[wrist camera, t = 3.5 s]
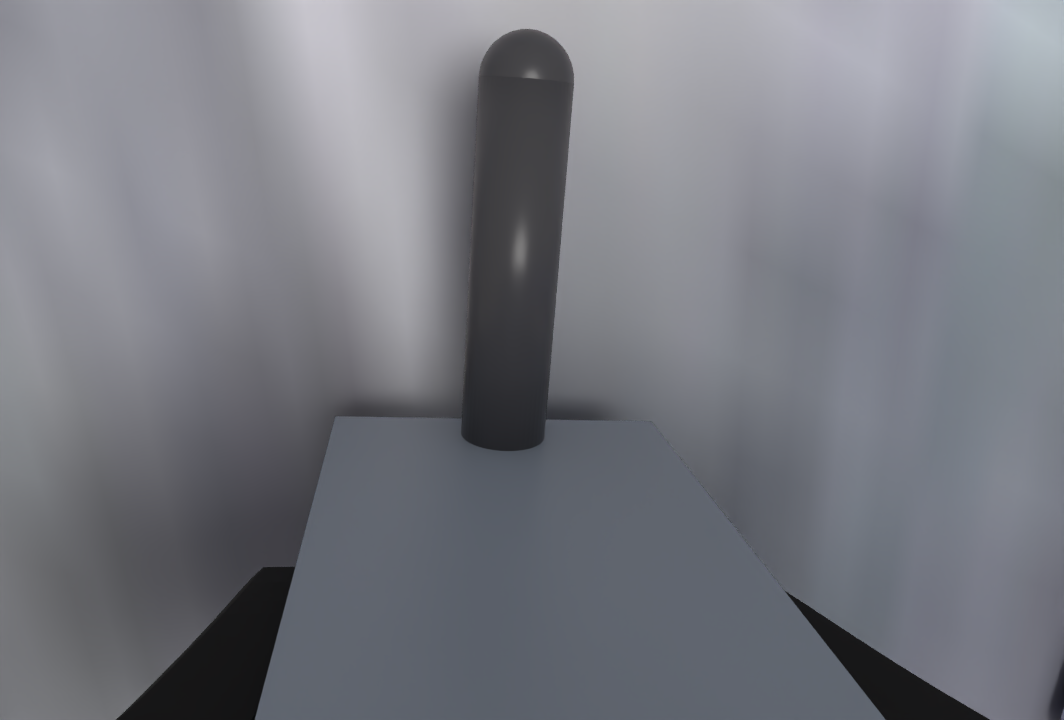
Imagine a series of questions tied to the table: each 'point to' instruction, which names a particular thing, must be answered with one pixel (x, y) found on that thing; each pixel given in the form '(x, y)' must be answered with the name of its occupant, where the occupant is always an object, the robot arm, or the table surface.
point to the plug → (531, 516)
